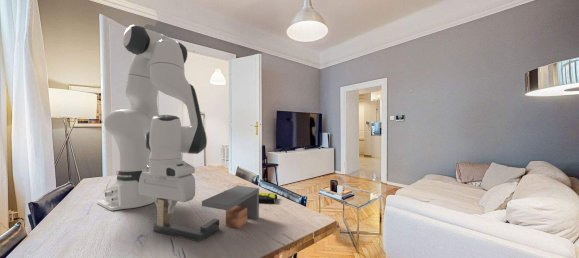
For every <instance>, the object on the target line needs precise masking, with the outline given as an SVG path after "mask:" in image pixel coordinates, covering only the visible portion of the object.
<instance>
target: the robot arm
mask: <svg viewBox="0 0 579 258" xmlns="http://www.w3.org/2000/svg"><path fill="white" fill-rule="evenodd" d="M122 42H123V46H124V48H125V49H126V50H127V51H128V52H130V53H131V54H134V55H133V58H132V59H131V62H130V66H129V69H128V73H127V79H126V80H127V81H126V85H125V95H126V97H127V98H128V100H129V102H130V103H129V104H130V108H129V109H128V108H126V109H125V108H124V109H123V108H122V109H117V110H112V111H110V112H109V113H108V114H107V115H106V117H105V118H104V127H105V129H106V131H107V132H108V133H109V134H111V135H112V137H113V138H114V140H115V142H116V145H117V148H118V151H119V170H117V172H116V176H117V177H116V180H115V181H113V183H111V184H110V185H109V186H108V187H107V188H106V190H105V191H104V198H102V199H99V200H98V201H97V204H98V205H99V206H101V207H103V208H105V209H107V210H109V211H117V210H118V211H119V210H123V209H124V210H125V209H134V208H140V207H143V206H147V205H150V204H153V203H155V205H156V208H157V207H158V199H160V198H162V199H168V203H170V204H169V206H168V207H167V208H166V213H168V214H170V215H171V214H174V212H175V207H176V205H177V203H178V202H181V203H187V202H190V201H191V200H192V201H193V199H194V198H195V197H196V179H195V176H194V175H193V174H194V173H195V172H196V170H195V169H196V168H195V166H194V165H192V164H189V163H188V162H186V161H185V160H183V154H191V155H192V154H193V155H195V154H196V155H198V154H200V153H201V152H202V151H204V150H205V149H206V147H207V144H208V136H207V134H206V131H205V127H204V124H203V119H202V114H201V109H200V105H199V101H198V96H197V92H196V90H195V87H194V85H192V84H191V83H189V81H188V79H187V77H186V75H185V74H186V73H185V63H186V62H187V59H188V50H187V47H186V46H185V45H184V44H182V43H181V42H179V41H176V39H175V40H174V39H173V38H171V37H170V36H167V35H165V34H163V33H159V32H157V31H154V30H150V29H147V28H145V27H144V26H141V25H137V24H131V25H129V26H128V27H127V28H126V29H125V31H124V33H123V41H122ZM159 92H161V93H162V94H163V95H167V96H169V97H172V98H174V99H176V100H179V101H181V102H182V103H183V104H184V105H185V106H186V108H187V109H186V110H187V115H188V119H189V122H190V123H189V124H190V125H188V126H187V125H184V126H183V125H182V122H181V118H180V117H178V116H177V115H170V114H161V115H160V112H159V107H158V94H159Z"/></svg>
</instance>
